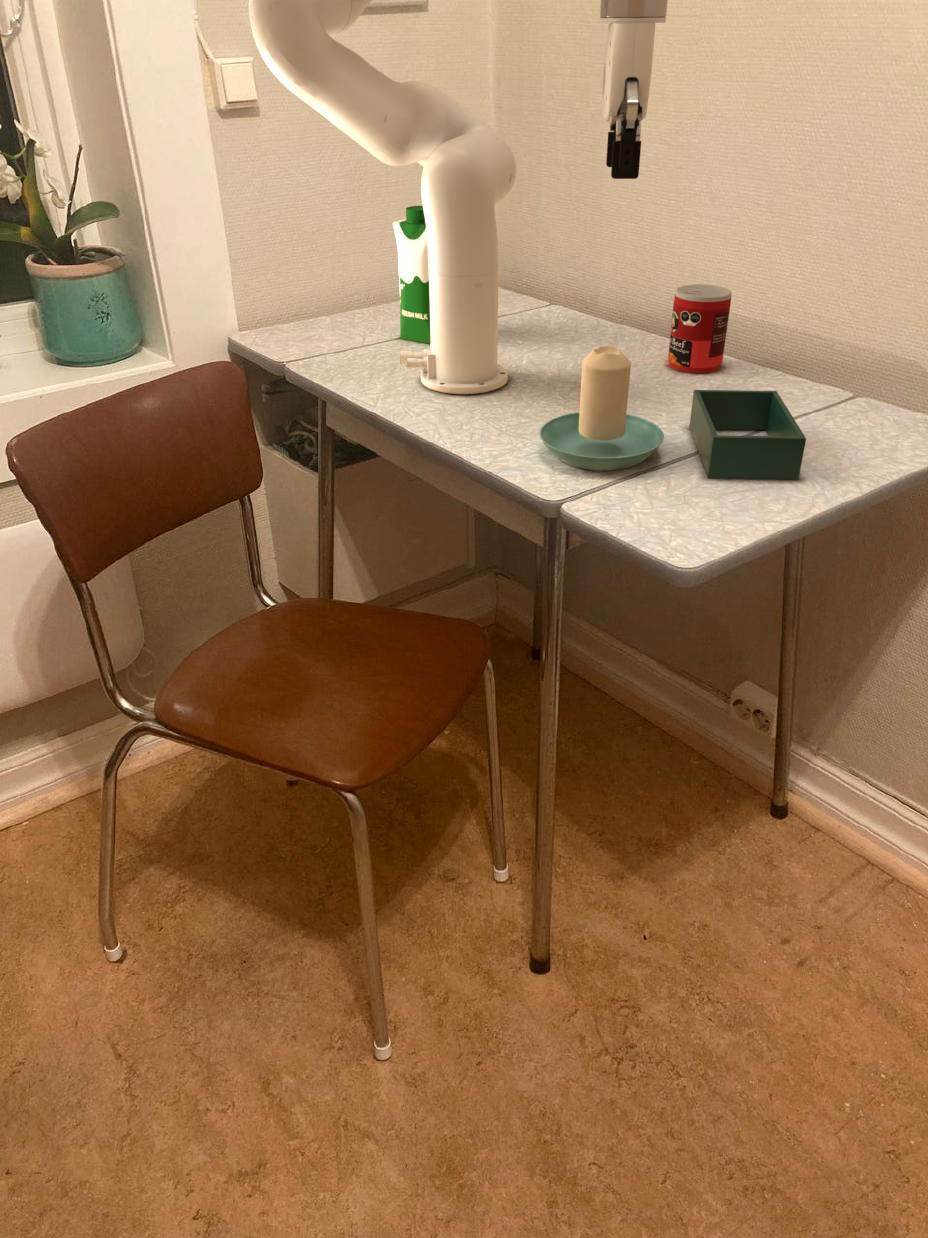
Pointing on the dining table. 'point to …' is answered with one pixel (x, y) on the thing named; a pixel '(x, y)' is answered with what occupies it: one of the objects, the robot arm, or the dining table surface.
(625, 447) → the saucer
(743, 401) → the case
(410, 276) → the milk carton
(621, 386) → the candle
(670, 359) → the canned food
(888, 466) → the dining table surface
